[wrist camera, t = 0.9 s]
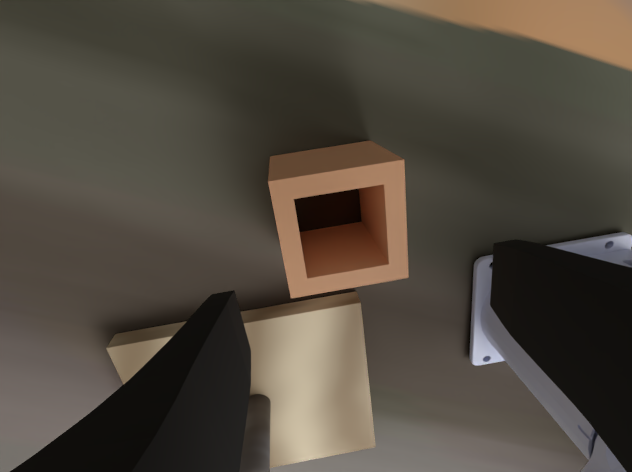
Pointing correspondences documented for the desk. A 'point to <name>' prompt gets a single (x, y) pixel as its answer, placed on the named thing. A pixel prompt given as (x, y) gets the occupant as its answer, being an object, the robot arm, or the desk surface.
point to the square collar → (350, 239)
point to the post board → (289, 379)
